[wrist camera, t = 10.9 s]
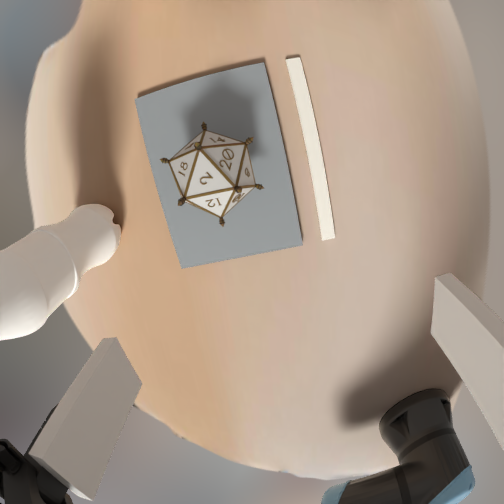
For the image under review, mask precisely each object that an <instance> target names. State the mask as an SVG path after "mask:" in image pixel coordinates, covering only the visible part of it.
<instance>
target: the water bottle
mask: <svg viewBox="0 0 504 504" xmlns="http://www.w3.org/2000/svg"><path fill="white" fill-rule="evenodd" d="M113 217H114V213H113V212H112V211H111V210H110V209H109V208H107V207H106V206H103V205H101V204H87V205H82V206H79V207H77V208H75V209H74V210H73V211H72V212H71V213H70V215H69V217H68V218H66V219H65V220H63V221H61V222H59V223H56V224H53V225H48V226H41V227H39V228H37V229H35V230H33V231H32V232H31V233H29V234H28V235H27V236H26V237H24V238H22V239H21V240H19V241H17V242H16V243H14V244H12V245H11V246H9V247H7V248H6V249H4V250H0V340H6V339H13V338H17V337H22V336H25V335H28V334H31V333H33V332H35V331H36V330H38V329H39V328H40V327H41V326H43V324H44V323H45V322H46V319H47V318H48V317H49V315H50V314H51V313H52V312H53V311H54V310H55V309H56V308H57V307H58V306H59V305H60V304H61V303H62V302H63V301H64V300H65V299H67V298H69V297H70V296H71V295H72V294H73V293H74V292H75V291H76V290H77V289H78V287H79V282H80V279H81V277H82V276H83V274H84V273H85V272H86V271H88V270H89V269H91V268H93V267H95V266H99V265H101V264H103V263H105V262H106V261H108V260H109V259H110V258H111V257H112V255H113V254H114V253H115V251H116V250H117V248H118V246H119V242H120V239H121V228H120V225H119V224H114V223H113V220H112V219H113Z"/></svg>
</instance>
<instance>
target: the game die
mask: <svg viewBox="0 0 504 504" xmlns="http://www.w3.org/2000/svg"><path fill="white" fill-rule="evenodd" d="M201 126H202V129H203V131H202V132H201V133H200V134H199V135H197V136H196V137H195V138H194V139H193V140H191V141H190V142H189V143H188V144H187V145H186V146H184V147H183V148H182V149H181V150H180V151H179V152H178V153H177V154H175V155H174V156H173V157H172V158H171V159H170V160H168V159H167V158H165V157H164V158H161V159H160V161H161V162H162V163H165V164H166V163H168V164H169V166H170V169H171V172H172V174H173V177H174V180H175V182H176V185H177V187H178V190H179V193H180V195H181V198H180V199H178V206H183V204H184V203H185V202H186V203H188V204H190V205H192V206H194V207H197V208H199V209H201V210H203V211H205V212H208V213H210V214H212V215H214V216H216V217H218V218H219V222H220V223H219V224H220V225H221V226H222V227H224V224H225V222H224V219H223V217H224V216H225V215H226V214H227V213H228V212H229V211H230V210H231V209H232V208H233V207H234V206H235V205H236V204H237V203H238V202H240V201H241V200H242V199H243V198H244V197H245V196H246V195H247V194H248V193H249V192H250V191H251V190H253V189H254V188H255V187H256V188H257V189H259V190H261V189H265V188H264V187H263V186H262V184H256V182H255V178H254V173H253V169H252V164H251V160H250V156H249V151H248V147H247V145H248V144H250V143H251V142H253V138H254V137H250V138H249V137H248V139H246V141H245V142H242V141H239V140H236V139H233V138H230V137H227V136H224V135H221V134H217V133H214V132H211V131H208V130H207V124H205V123H204V122H203V123H202V125H201Z"/></svg>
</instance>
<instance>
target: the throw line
mask: <svg viewBox="0 0 504 504" xmlns="http://www.w3.org/2000/svg"><path fill="white" fill-rule="evenodd" d="M285 61H286V65H287V69H288V73H289V77H290V81H291V85H292V89H293V93H294V97H295V102H296V106H297V110H298V115H299V119H300V124H301V128H302V133H303V138H304V143H305V148H306V153H307V158H308V163H309V168H310V173H311V179H312V184H313V190H314V196H315V202H316V208H317V214H318V220H319V226H320V233H321V239H322V240H327V239H332V238H335V233H334V225H333V218H332V211H331V205H330V198H329V192H328V186H327V180H326V174H325V168H324V162H323V157H322V152H321V147H320V141H319V136H318V131H317V127H316V122H315V117H314V113H313V108H312V104H311V99H310V95H309V91H308V87H307V83H306V79H305V75H304V71H303V67H302V63H301V59H300V57H299V58H292V59H286V60H285Z"/></svg>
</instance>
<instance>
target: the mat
mask: <svg viewBox="0 0 504 504" xmlns="http://www.w3.org/2000/svg"><path fill="white" fill-rule="evenodd" d="M135 103H136V108H137V112H138V117H139V121H140V125H141V129H142V134H143V138H144V142H145V146H146V150H147V154H148V157H149V161H150V165H151V169H152V172H153V176H154V180H155V183H156V187H157V190H158V194H159V197H160V201H161V204H162V208H163V211H164V214H165V218H166V221H167V224H168V228H169V231H170V234H171V237H172V240H173V243H174V247H175V250H176V253H177V256H178V259H179V262H180V265H181V268H182V269H183V268H188V267H193V266H198V265H204V264H209V263H214V262H219V261H224V260H229V259H235V258H240V257H245V256H250V255H255V254H261V253H266V252H271V251H276V250H281V249H286V248H291V247H297V246H302V245H303V244H302V238H301V232H300V227H299V221H298V215H297V210H296V205H295V199H294V194H293V189H292V184H291V179H290V174H289V169H288V164H287V159H286V155H285V150H284V145H283V141H282V136H281V131H280V127H279V123H278V118H277V114H276V109H275V105H274V101H273V97H272V93H271V89H270V84H269V80H268V76H267V72H266V68H265V65H264V62H263V63H258V64H253V65H248V66H243V67H239V68H234V69H230V70H226V71H222V72H218V73H214V74H210V75H206V76H203V77H199V78H196V79H192V80H189V81H186V82H182V83H179V84H176V85H173V86H170V87H167V88H164V89H161V90H158V91H155V92H153V93H150V94H147V95H145V96H142V97H139V98H137V99H135ZM203 122H204V123H205V124H207V130H208V131H211V132H214V133H217V134H221V135H224V136H227V137H230V138H233V139H236V140H239V141H242V142H245V141H246V139H248V137H249V138H250V137H254V138H253V142H251V143H250V144H248V145H247V147H248V151H249V156H250V160H251V164H252V169H253V173H254V178H255V182H256V184H262V186H263V187H264V188H265V189H261V190H259V189H257V188H256V187H255V188H254V189H253V190H251V191H250V192H249V193H248V194H247V195H246V196H245V197H244V198H243V199H242V200H241V201H240V202H238V203H237V204H236V205H235V206H234V207H233V208H232V209H231V210H230V211H229V212H228V213H227V214H226V215H225V216H224V217H223V219H224V222H225V224H224V227H222V226H221V225H220V224H219V223H220V222H219V218H218V217H216V216H214V215H212V214H210V213H208V212H205V211H203V210H201V209H199V208H197V207H194V206H192V205H190V204H188V203H186V202H185V203H184V204H183V206H178V199H180V198H181V195H180V193H179V190H178V187H177V185H176V182H175V180H174V177H173V174H172V172H171V169H170V166H169V164H168V163H166V164H165V163H162V162H161V161H160V159H161V158H164V157H165V158H167V159H168V160H170V159H171V158H172V157H173V156H174V155H175V154H177V153H178V152H179V151H180V150H181V149H182V148H183V147H184V146H186V145H187V144H188V143H189V142H190V141H191V140H193V139H194V138H195V137H196V136H197V135H199V134H200V133H201V132H202V131H203V129H202V126H201V125H202V123H203Z"/></svg>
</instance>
